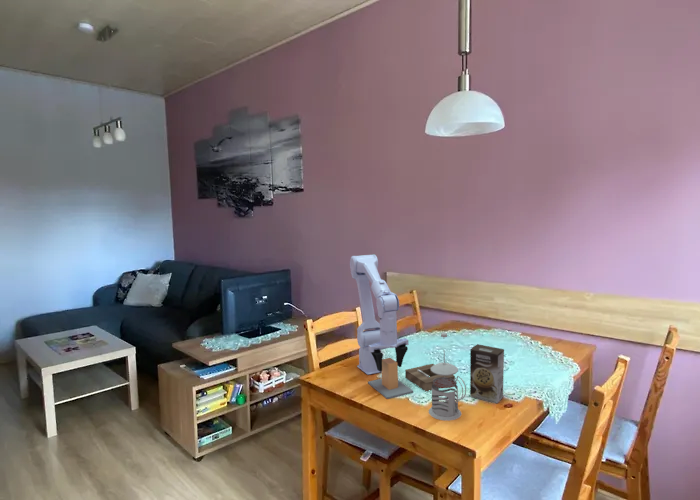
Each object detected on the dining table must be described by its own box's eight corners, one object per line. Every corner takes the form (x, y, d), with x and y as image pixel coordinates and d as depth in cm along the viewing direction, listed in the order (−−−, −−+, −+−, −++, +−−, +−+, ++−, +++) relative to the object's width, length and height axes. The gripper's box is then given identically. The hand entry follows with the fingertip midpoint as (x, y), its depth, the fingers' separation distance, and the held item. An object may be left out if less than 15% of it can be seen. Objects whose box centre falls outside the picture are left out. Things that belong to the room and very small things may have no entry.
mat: (367, 383, 156) (367, 381, 156) (392, 377, 160) (392, 375, 160) (387, 399, 143) (387, 397, 143) (413, 392, 147) (413, 390, 147)
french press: (439, 401, 140) (438, 325, 137) (473, 413, 132) (472, 332, 129) (422, 413, 133) (420, 333, 130) (456, 426, 125) (455, 341, 122)
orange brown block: (382, 384, 153) (381, 359, 152) (390, 382, 154) (390, 357, 153) (389, 389, 148) (388, 364, 147) (398, 387, 150) (397, 362, 149)
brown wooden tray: (405, 377, 159) (405, 368, 159) (433, 371, 164) (432, 362, 164) (425, 391, 147) (425, 381, 147) (454, 384, 152) (454, 374, 152)
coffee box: (469, 397, 142) (469, 349, 140) (476, 389, 148) (476, 343, 146) (497, 404, 137) (497, 354, 135) (504, 396, 142) (504, 348, 140)
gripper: (374, 336, 142) (376, 376, 144) (413, 329, 148) (413, 368, 150) (365, 330, 149) (366, 369, 150) (402, 324, 155) (403, 361, 156)
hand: (389, 368), depth 151 cm, fingers open, 7 cm apart
